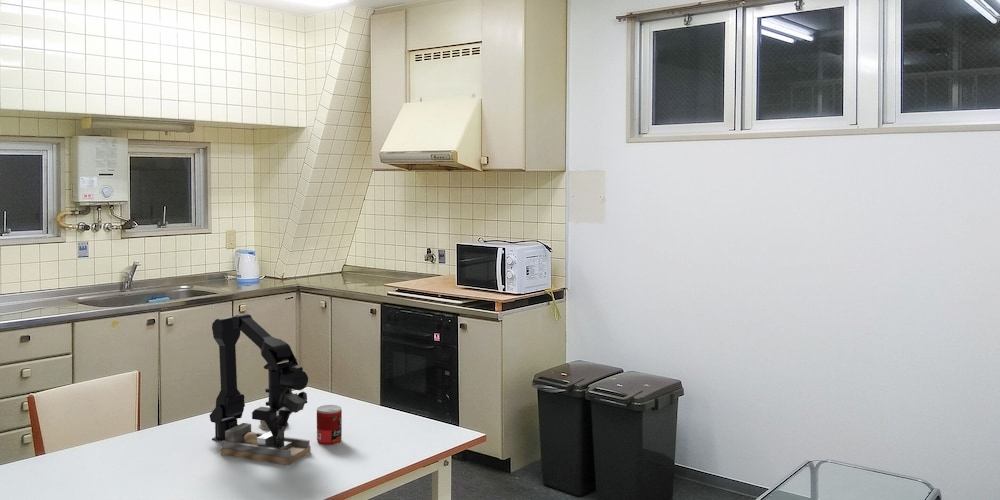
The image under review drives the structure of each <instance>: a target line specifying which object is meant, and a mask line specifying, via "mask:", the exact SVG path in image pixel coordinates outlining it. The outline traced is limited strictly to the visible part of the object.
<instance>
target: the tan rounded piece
mask: <svg viewBox="0 0 1000 500" xmlns="http://www.w3.org/2000/svg"><path fill="white" fill-rule="evenodd" d="M244 442H245V444H250V445H257V435H256V434H255V433H254V431H251V432H249V433H247V434H246V435H245V436H244Z"/></svg>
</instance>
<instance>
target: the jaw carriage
mask: <svg viewBox="0 0 1000 500" xmlns="http://www.w3.org/2000/svg"><path fill="white" fill-rule="evenodd" d="M263 434H264V435H262V436H260V437H257V446H264V447H270V448H277V449H286V448H288V447H290V446H292V442H288V441H284V437H285V431H284V425H278V434H277V437H274V436H273V435H272V433H271V431H270V430H269V431H267V432H266V433H263Z"/></svg>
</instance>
